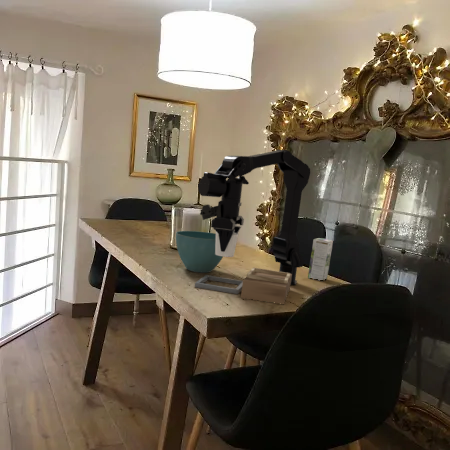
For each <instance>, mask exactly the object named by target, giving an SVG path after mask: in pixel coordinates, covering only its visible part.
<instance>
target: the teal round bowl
mask: <svg viewBox="0 0 450 450" xmlns="http://www.w3.org/2000/svg"><path fill="white" fill-rule="evenodd" d="M175 244H176V249H177V252H178V255H179V258H180V260H181V262H182V264H183V265H184V267H185V268H186V269H187V270H188V271H191V272H194V273H203V274H205V273H211V272H212V271H213V270H214V269H215V268H216V267H218V265H219V264H220V263H221V261H222V260H223V258H224V257H223V256H218V255H216V254H215V244H216V232H207V231H198V230H197V231H196V230H195V231H194V230H180V231H176V232H175Z"/></svg>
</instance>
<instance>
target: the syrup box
mask: <svg viewBox="0 0 450 450" xmlns="http://www.w3.org/2000/svg"><path fill="white" fill-rule="evenodd" d="M333 243H334V241H333V240H331V239H328V238H323V237H321V238H320V237H318V238H314V239H313V241H312V249H311V255H310V260H309V268H308V273H307V278H308V279H310V278H313V279H312V280H314V279H318V280H317V281H320V280H324V281H326V280H328V277H329V270H330V262H331V256H332V250H333ZM325 279H326V280H325Z"/></svg>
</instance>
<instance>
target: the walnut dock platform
mask: <svg viewBox="0 0 450 450" xmlns="http://www.w3.org/2000/svg"><path fill="white" fill-rule="evenodd" d="M291 277H292V274H291V273H285V272H279V270H273V269H265V268H259V267H252V268H251V269H250V270H249V271H248V272H247V273H246V275H245V277H244V278H243V280H242V281H243V285H242V290H241V292H240V293H241V294H240V299H245V298H247V299H246V300H251V299H253V301H257V300H260V301H259V302H263V301H267V302H266V303H269V302H275V303H281V304H284V305H285V303H286V301H285V300H287V298H286V297H288V296H287V295H289V293H290V291H289V290H291V286H292V285H291ZM288 292H289V293H288ZM284 302H285V303H284ZM275 303H274V304H275ZM281 304H280V305H281Z"/></svg>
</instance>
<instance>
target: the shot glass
mask: <svg viewBox="0 0 450 450" xmlns="http://www.w3.org/2000/svg"><path fill="white" fill-rule="evenodd" d="M215 234H216V244H215V254H216V255H218V256H223V258H225V257H226V258H233V257H234V256H235V251H236V247H237V243H238V237H239V232H238V233H235V232H234V233H233V235H232V237H231V240H230V242H229V244H228V246H227V248H226V250H225V252H222V251H221V248H220V241H219V234H218V233H217V232H216V231H215Z"/></svg>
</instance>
